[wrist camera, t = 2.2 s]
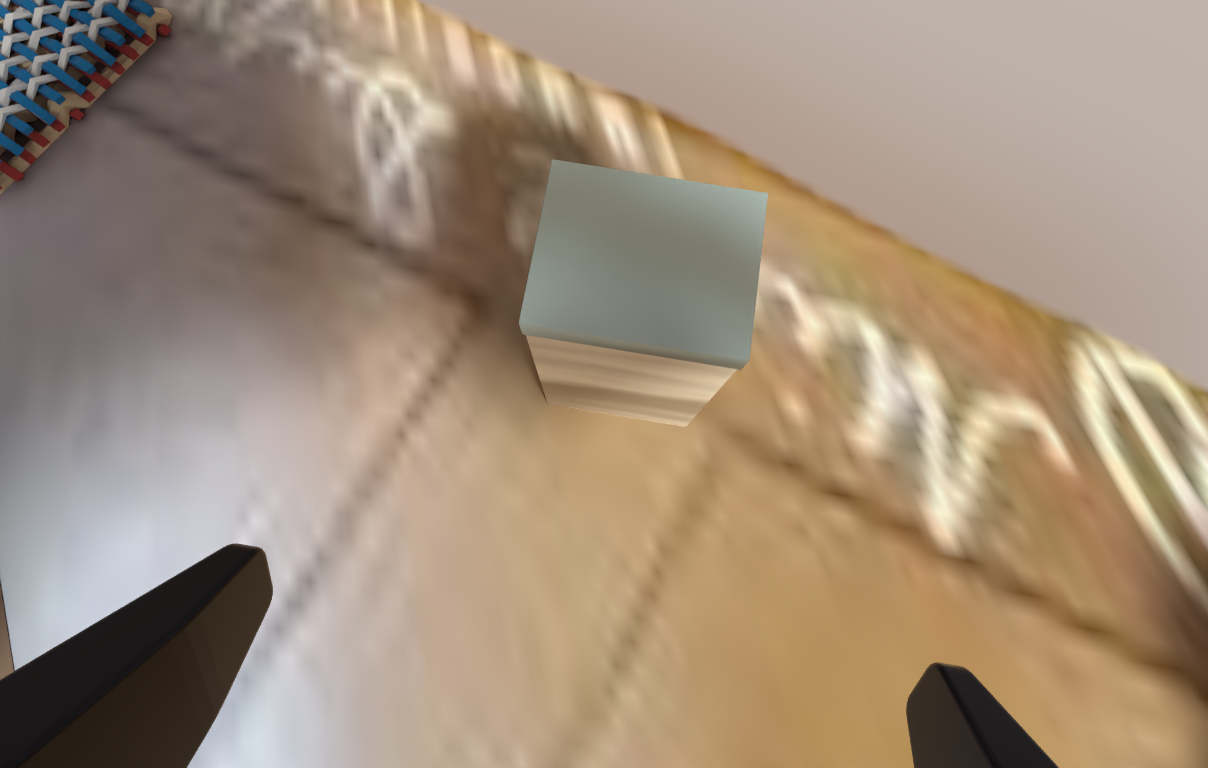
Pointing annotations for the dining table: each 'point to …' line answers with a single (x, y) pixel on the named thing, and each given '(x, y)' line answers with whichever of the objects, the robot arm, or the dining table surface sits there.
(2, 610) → the base
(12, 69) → the woven mat
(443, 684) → the dining table surface
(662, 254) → the beech block
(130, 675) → the robot arm
